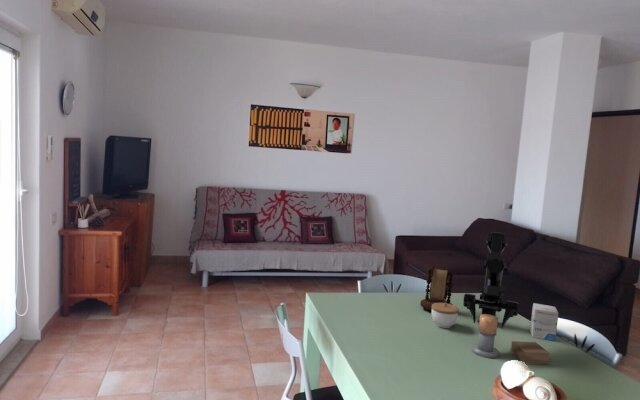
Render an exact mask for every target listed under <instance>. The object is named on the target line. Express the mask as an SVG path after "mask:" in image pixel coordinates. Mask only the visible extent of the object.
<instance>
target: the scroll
mask: <svg viewBox="0 0 640 400" xmlns="http://www.w3.org/2000/svg"><path fill="white" fill-rule="evenodd" d="M453 276H454V272H452V271H450V267H447V270H446V269H445V270H444V269H438V268H435V264H433V265H432V266H431V268H428V269H427V278H426V289H425V294H426V295H425V296H424V297H425V298H423V299H421V300H420V307H422V310H423V311H426V310H428V311H432V304H434V303H447V304H451V305H454V304H452V303H451V296H452V288H453ZM447 281H448V282H447ZM446 286H447V287H446Z"/></svg>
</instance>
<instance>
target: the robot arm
mask: <svg viewBox="0 0 640 400" xmlns="http://www.w3.org/2000/svg"><path fill="white" fill-rule="evenodd" d="M508 237H509V236H508V235H507V234H505V233H503V232H495V231H492V232H489V233H488V232H487V234H486V243H487V249H488V252H489V254H487V255H486V260H484V264H483V270H485V278H484V284H483V285H484V286H483V288H482V291H481V292H482V293H480V295H479V299H478V298H476V294H472V293H467V292H466V293H464V294H463V307H464V308H466V310H469V311H470V314H471V318H472V321H473V324H476V322H477V323H479V321H480V319H478V320H477V321H476V312H477V311H476V305H478V309H481V314H489V315H493V316H496V315H497V312H498V313H500V312H502V310H504V314H503V318H502V322H501V329H502V330H503V329H504V328H505V325H506V324H507V322H508V320H509V319H510V318H514V317H517V316H518V313H519V309H520V304H519V302H518V301H513V300H507V301H506V303H503V299H502V297H505V294H506V286H504V285H502V280H503V279H502V278H503V273H506V272H508V266H507V263H506V262H505V257H504V256H503V255H502V253H503V252H504V251H505V247H506V246H507V245H508V239H509V238H508ZM501 296H502V297H501ZM481 314H480V315H481ZM496 317H497V316H496Z"/></svg>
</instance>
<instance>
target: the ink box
mask: <svg viewBox="0 0 640 400" xmlns="http://www.w3.org/2000/svg"><path fill="white" fill-rule="evenodd" d="M558 323H559V312H558V309H557V308H556V306H554V305H553V306H552V305H546V304H542V303H536V302H533V304H532V310H531V318H530V326H529V331H530V334H531V337H532V338H534V339H535V338H537V339H542V340H548V341H554V342H556V338H557V330H558V329H557V328H558Z"/></svg>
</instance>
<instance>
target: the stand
mask: <svg viewBox="0 0 640 400" xmlns="http://www.w3.org/2000/svg"><path fill="white" fill-rule="evenodd" d="M510 353H511V354H512V355H513V356H514V357H516V358H517V359H518V360H519V361H520V362H521V361H523V362H525V363H527V365H528V364H529V365H530V364H531V365H532V364H533V365H549V364H550V355H551V352H549V351H548V350H547V349H546V348H545V347H542V346H541V345H540V344H539V343H538V342H536V341H516V340H515V341H514V340H512V341H511V346H510ZM523 362H522V363H523Z"/></svg>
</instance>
